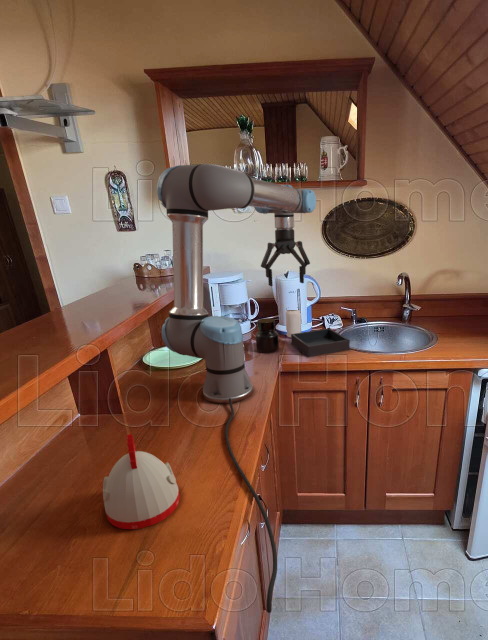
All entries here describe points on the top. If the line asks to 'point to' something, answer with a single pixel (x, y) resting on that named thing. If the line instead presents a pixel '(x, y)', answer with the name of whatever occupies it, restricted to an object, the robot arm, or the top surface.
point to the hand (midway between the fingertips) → (286, 284)
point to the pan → (320, 342)
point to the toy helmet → (139, 490)
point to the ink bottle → (267, 336)
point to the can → (293, 322)
